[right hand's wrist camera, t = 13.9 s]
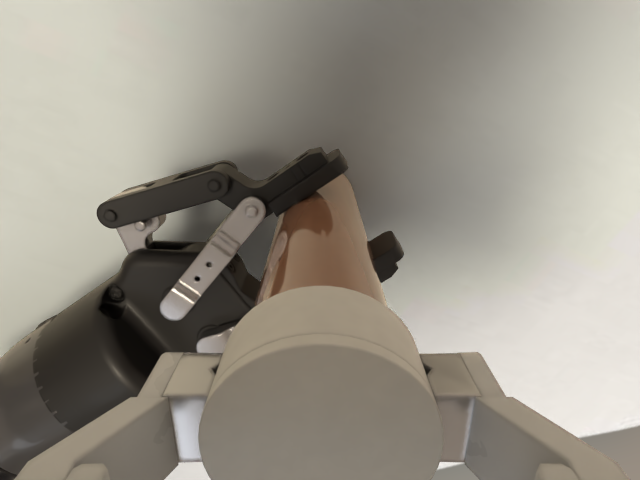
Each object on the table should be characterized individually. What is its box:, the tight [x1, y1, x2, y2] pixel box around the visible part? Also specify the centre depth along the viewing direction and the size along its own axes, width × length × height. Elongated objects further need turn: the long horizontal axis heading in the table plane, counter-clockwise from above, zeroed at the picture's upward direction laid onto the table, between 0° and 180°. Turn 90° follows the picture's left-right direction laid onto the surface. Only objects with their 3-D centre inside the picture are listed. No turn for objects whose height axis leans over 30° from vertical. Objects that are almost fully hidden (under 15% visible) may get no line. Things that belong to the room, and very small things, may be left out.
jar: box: [253, 174, 387, 308], centre depth 17 cm, size 4×4×18 cm
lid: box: [198, 286, 444, 480], centre depth 10 cm, size 5×5×2 cm
